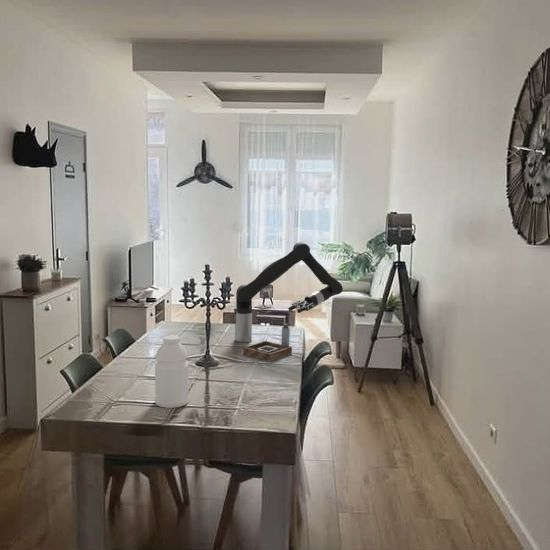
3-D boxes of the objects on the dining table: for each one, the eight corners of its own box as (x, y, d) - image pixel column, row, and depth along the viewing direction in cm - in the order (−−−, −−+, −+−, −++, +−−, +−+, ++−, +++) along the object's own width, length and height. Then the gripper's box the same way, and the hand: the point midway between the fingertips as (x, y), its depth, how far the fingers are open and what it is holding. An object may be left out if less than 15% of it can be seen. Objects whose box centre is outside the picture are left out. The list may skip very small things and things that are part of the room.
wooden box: (243, 354, 297) (243, 347, 296) (265, 347, 312) (265, 340, 311) (270, 361, 285) (270, 354, 285) (291, 353, 300) (291, 346, 299)
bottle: (158, 410, 218) (157, 343, 214) (151, 398, 231) (151, 334, 227) (192, 405, 224) (192, 340, 220) (184, 394, 237) (184, 331, 232)
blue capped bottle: (279, 348, 310) (280, 324, 308) (284, 346, 313) (285, 323, 311) (286, 349, 307) (286, 325, 305) (290, 348, 311) (291, 324, 308)
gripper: (305, 292, 323) (284, 303, 315) (320, 295, 311) (299, 306, 303) (308, 304, 325) (287, 314, 317) (323, 307, 313) (302, 318, 305)
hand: (293, 310), depth 310 cm, fingers open, 8 cm apart
